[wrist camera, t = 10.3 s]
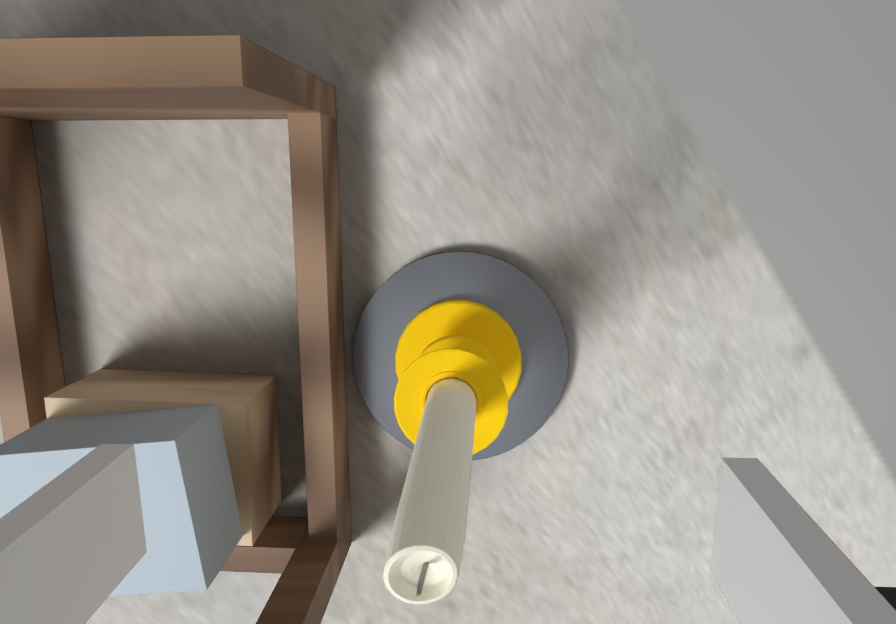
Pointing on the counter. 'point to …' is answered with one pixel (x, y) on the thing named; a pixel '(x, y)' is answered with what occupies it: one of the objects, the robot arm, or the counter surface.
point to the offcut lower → (238, 397)
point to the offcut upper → (146, 486)
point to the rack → (315, 241)
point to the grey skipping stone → (476, 283)
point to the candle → (445, 436)
